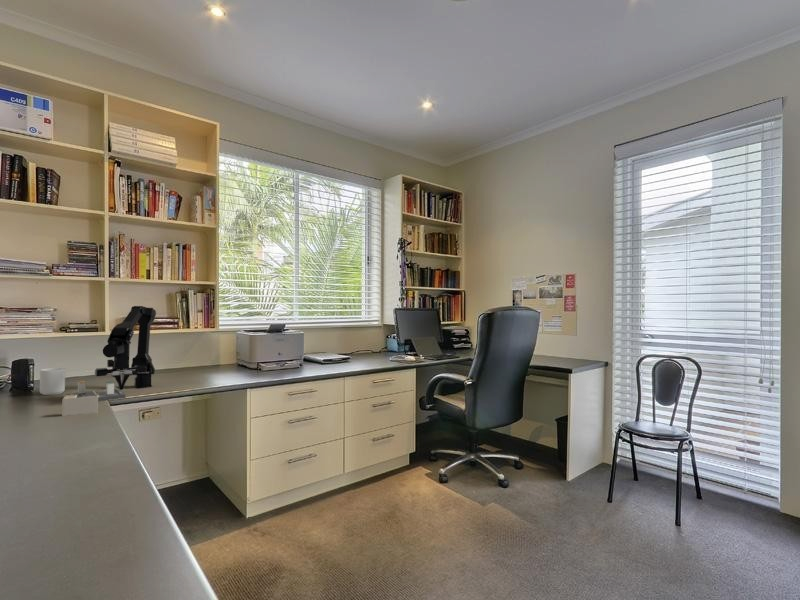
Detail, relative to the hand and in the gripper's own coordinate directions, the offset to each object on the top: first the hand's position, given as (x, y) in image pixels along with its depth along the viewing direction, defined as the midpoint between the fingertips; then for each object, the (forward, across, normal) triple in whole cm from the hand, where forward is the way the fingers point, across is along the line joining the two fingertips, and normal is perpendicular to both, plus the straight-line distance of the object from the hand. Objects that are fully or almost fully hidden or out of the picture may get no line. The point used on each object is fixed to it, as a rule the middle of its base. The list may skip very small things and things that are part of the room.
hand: (121, 389), depth 184 cm
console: (+3, +8, -5) cm, 10 cm away
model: (+4, +16, +24) cm, 29 cm away
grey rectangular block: (+1, +13, -10) cm, 16 cm away
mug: (+3, +22, -29) cm, 36 cm away
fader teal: (+1, +4, 0) cm, 4 cm away
